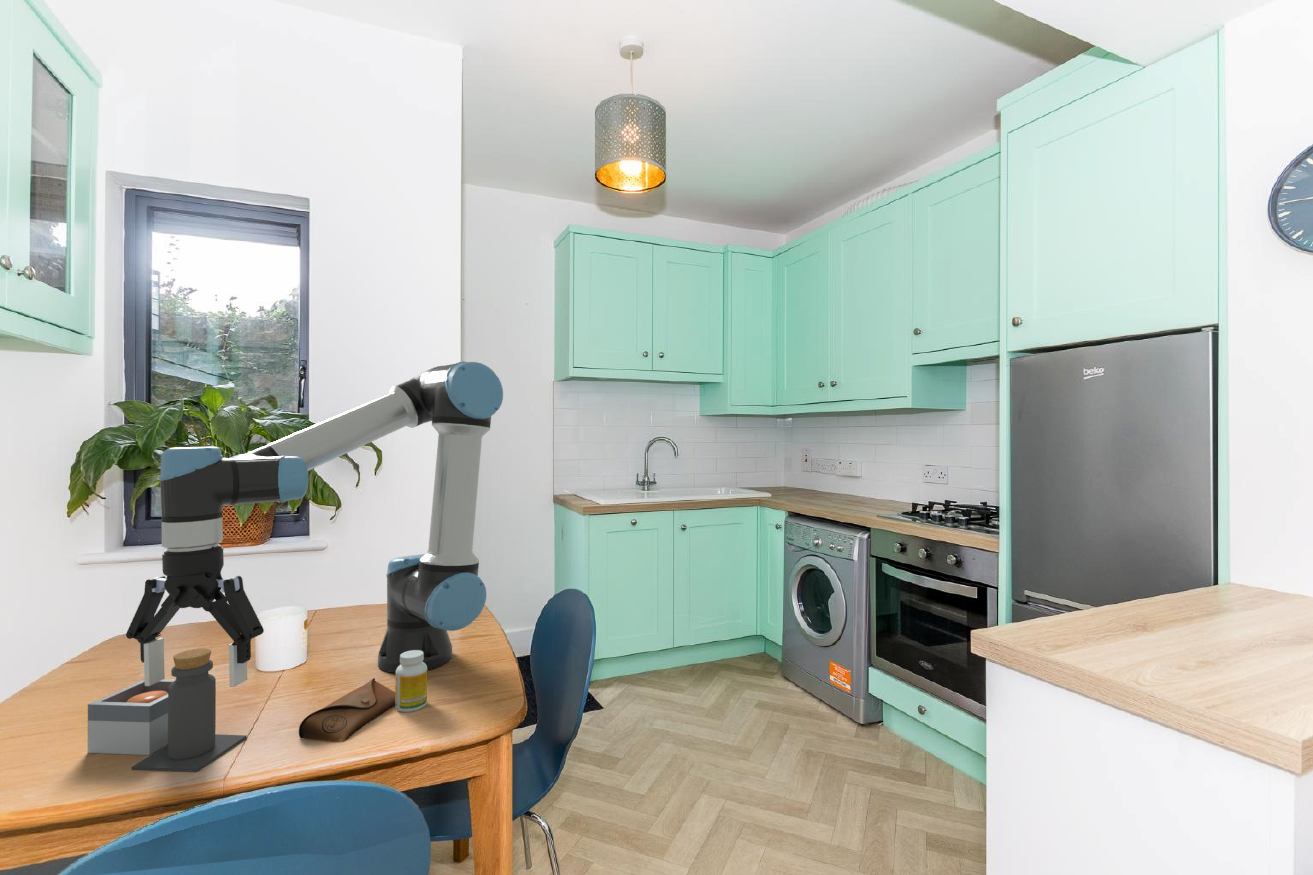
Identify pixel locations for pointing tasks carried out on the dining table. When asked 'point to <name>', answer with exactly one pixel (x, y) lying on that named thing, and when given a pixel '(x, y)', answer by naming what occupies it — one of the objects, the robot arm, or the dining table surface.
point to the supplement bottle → (411, 682)
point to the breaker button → (147, 697)
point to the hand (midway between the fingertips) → (196, 683)
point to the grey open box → (129, 721)
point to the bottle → (191, 705)
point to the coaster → (191, 764)
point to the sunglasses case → (348, 713)
